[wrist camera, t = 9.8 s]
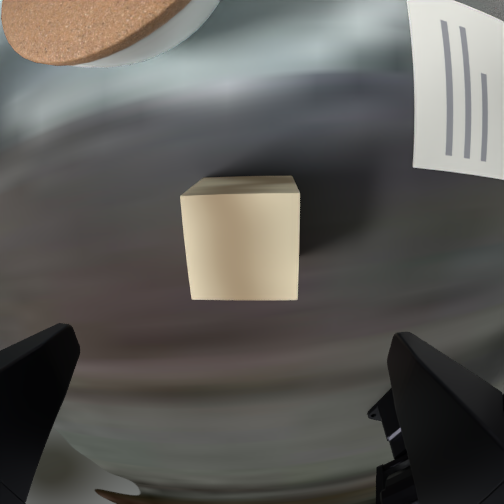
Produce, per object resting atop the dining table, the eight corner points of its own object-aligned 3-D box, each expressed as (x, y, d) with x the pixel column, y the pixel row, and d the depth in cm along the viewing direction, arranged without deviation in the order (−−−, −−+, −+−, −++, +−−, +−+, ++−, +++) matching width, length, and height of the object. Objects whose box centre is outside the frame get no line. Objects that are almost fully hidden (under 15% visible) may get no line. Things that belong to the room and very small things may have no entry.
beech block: (291, 175, 17) (300, 193, 13) (291, 257, 19) (297, 299, 15) (203, 177, 18) (180, 195, 13) (209, 258, 20) (191, 299, 15)
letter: (521, 182, 16) (523, 183, 16) (412, 167, 17) (413, 167, 16) (517, 29, 11) (518, 29, 11) (404, -14, 12) (405, -15, 12)
